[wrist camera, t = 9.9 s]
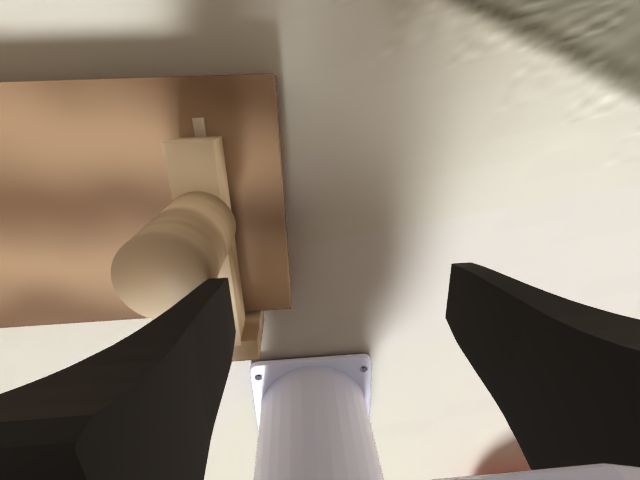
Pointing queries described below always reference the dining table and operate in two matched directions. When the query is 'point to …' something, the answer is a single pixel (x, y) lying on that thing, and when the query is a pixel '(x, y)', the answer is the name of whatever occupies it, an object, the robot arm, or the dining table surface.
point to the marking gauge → (188, 242)
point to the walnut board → (127, 186)
